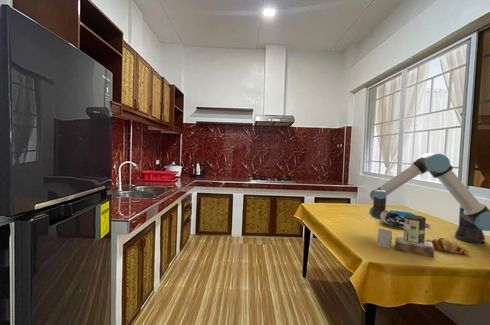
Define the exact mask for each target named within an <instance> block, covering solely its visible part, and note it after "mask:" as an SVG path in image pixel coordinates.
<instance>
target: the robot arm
mask: <svg viewBox="0 0 490 325" xmlns="http://www.w3.org/2000/svg"><path fill="white" fill-rule="evenodd" d="M453 169H454V167H453V166H452V165H451V161H450V159H449V157H448V156H446V154H443V153H441V152H440V153H439V152H432V153H431V152H428V153H425V154H423V155H421V156H420V157H418V158H417V159H415V160H414V161H413V162H411V163H410V166H409V167H406V168H405V169H404V170H403V171H401V172H399V173H398V174H397V175H395V176H393V177H392V178H390V179H389V180H388V181H386V182H385V183H383V184H382V185H380V186H379V187H377V188H375V189H373V190H371V191H370V193H369V197H370V199H371V200H372V201H373V203H372V207H370V209H369V211H368V213H369V216H370V217H371V218H373V219H375V220H379V221H382V222H384V223H385V222H386V223H390V224H391V225H393V226H392V227H396V228H403V229H404V228H405V229H408V230H410V225H409V224H406V223H404V217H400V216H399V215H398V214H397V213H395V212H391V211H388V210H389V209H386V208H387V207H386V206H387V197H388V195H390V194H392V193H393V192H395V191H396V190H398V189H400V188H401V187H403V186H404V185H405V184H407V183H409V182H410V181H412V180H413V179H415V178H416V177H417V176H419V175H420V176H421V175H423V174H425V173H428V172H429V174H430V175H431V176H432V177H433V178H434V179H438V181H439V182H440V183H441V184H442V185H443V186H444V188H445V189H446V190H447V191H448V192H449V194H451V196H452V197H453V198H454V200H456V202H457V203H458V204H459V212H458V213H459V215H458V226H457V229H456V231H455V233H454V238H456V239H457V238H458V240H461V241H463V240H464V242H469V243H474V242H476V243H477V244H482V243H481V242H485V243H486V237H485V234H484V232H485V231H486V232H490V208H488V206H487V205H486V204H485V203H483V202H479V200H478V199H477V198H476V197H475V196H474V194H473V193H472V192H471V191H470V189H468V188H467V186H466V185H465V184H464V183H463V182H462V181H461V180H460V177H458V176H457V175H456V173H455V172H454V171H453ZM386 223H385V224H386ZM395 225H396V226H395ZM425 229H428V230H429V229H431V224H430V223H428V222H425Z"/></svg>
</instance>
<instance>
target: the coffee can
mask: <svg viewBox="0 0 490 325" xmlns="http://www.w3.org/2000/svg"><path fill="white" fill-rule="evenodd" d="M426 220H427V219H426V217H425V216H421V215H417V214H416V215H404V223H406V224H409V225H410V230H408V229H405V228H403V237H404V239H403V240H404V241H406V242H408V243H412V244H424V243H425V242H424V241H425V236H426V228H425V223H426Z"/></svg>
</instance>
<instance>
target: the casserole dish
mask: <svg viewBox="0 0 490 325" xmlns="http://www.w3.org/2000/svg"><path fill="white" fill-rule="evenodd" d="M387 210H388V211H391V212H395V213H397V214H398V215H399V216H400V217H404V215H417V214H416V213H414V212H410V211H405V210H397V209H387ZM384 223H385V224H386V225H388V226H390V227H391V226H392V227H396V225H395V226H393V225H391V224H390V223H386V222H384Z"/></svg>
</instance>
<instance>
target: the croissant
mask: <svg viewBox="0 0 490 325" xmlns="http://www.w3.org/2000/svg"><path fill="white" fill-rule="evenodd" d="M425 241H429V242H432V244H433V247H434V250H436V251H440V252H441V251H442V252H444V253H451V254H459V255H460V254H462V255H469V254H470V250H468V249H466V248H465V247H463V246H461V245H460V244H458V243H457V242H453V241H451V240H449V239H447V238H443V237H439V238H438V239H436V238H435V239H431V240H430V239H427V240H425Z"/></svg>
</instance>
